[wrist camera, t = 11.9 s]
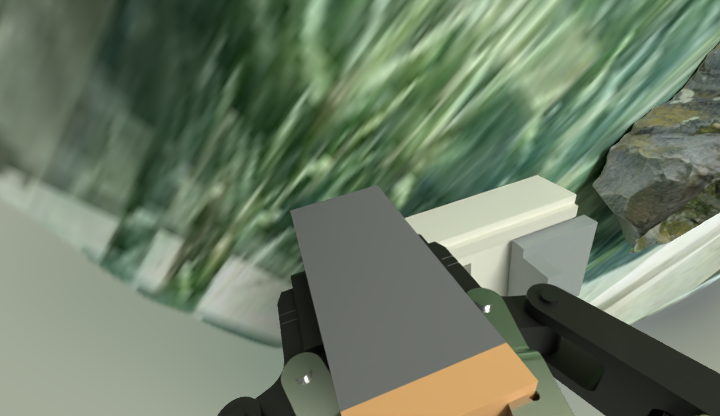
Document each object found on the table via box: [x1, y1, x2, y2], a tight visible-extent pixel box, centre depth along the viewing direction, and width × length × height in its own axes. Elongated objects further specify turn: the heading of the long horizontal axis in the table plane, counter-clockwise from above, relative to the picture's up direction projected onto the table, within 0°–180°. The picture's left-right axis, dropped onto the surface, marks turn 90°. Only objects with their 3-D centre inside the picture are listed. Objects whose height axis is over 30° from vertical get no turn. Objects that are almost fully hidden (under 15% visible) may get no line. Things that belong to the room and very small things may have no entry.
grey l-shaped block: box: [507, 215, 598, 296], centre depth 25 cm, size 8×7×4 cm
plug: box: [290, 185, 538, 416], centre depth 12 cm, size 4×4×10 cm
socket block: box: [405, 175, 578, 296], centre depth 28 cm, size 12×18×4 cm, turn 100°
